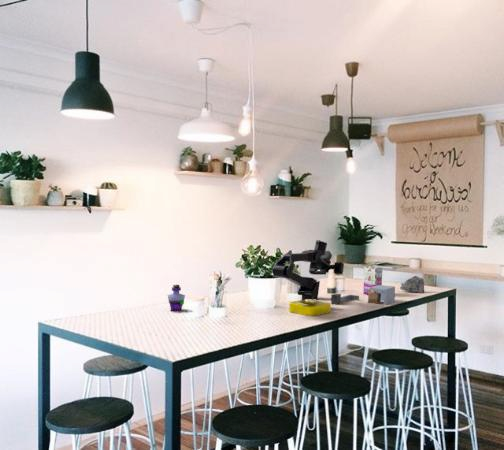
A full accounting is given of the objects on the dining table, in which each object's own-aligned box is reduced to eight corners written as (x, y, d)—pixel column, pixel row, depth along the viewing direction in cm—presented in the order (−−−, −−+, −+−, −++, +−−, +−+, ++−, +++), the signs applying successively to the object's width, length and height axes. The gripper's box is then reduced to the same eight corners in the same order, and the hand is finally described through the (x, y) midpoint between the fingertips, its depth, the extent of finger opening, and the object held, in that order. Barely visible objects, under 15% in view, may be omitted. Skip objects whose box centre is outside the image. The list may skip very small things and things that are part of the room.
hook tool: (342, 305, 268) (343, 295, 267) (331, 304, 271) (331, 294, 271) (359, 300, 285) (359, 291, 285) (347, 298, 289) (348, 289, 289)
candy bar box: (382, 296, 300) (382, 267, 300) (375, 296, 298) (375, 268, 298) (369, 293, 310) (370, 265, 310) (363, 293, 308) (363, 266, 308)
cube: (377, 304, 274) (377, 294, 274) (368, 303, 277) (368, 293, 277) (380, 302, 279) (380, 293, 278) (371, 301, 281) (371, 292, 281)
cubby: (385, 304, 272) (385, 289, 272) (368, 302, 277) (369, 287, 277) (394, 301, 284) (394, 286, 283) (378, 299, 289) (378, 285, 288)
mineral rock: (399, 291, 319) (399, 275, 319) (407, 290, 327) (407, 274, 327) (419, 294, 311) (419, 277, 310) (427, 292, 319) (427, 276, 318)
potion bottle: (181, 312, 243) (182, 286, 242) (164, 311, 244) (164, 285, 244) (187, 308, 251) (188, 283, 251) (170, 308, 253) (170, 283, 252)
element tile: (287, 311, 248) (287, 301, 248) (307, 307, 259) (307, 298, 259) (312, 316, 238) (312, 306, 238) (332, 312, 248) (332, 302, 248)
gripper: (338, 248, 264) (351, 259, 276) (306, 248, 275) (320, 259, 287) (335, 268, 260) (348, 279, 272) (302, 269, 272) (317, 278, 283)
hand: (333, 273), depth 278 cm, fingers open, 9 cm apart
